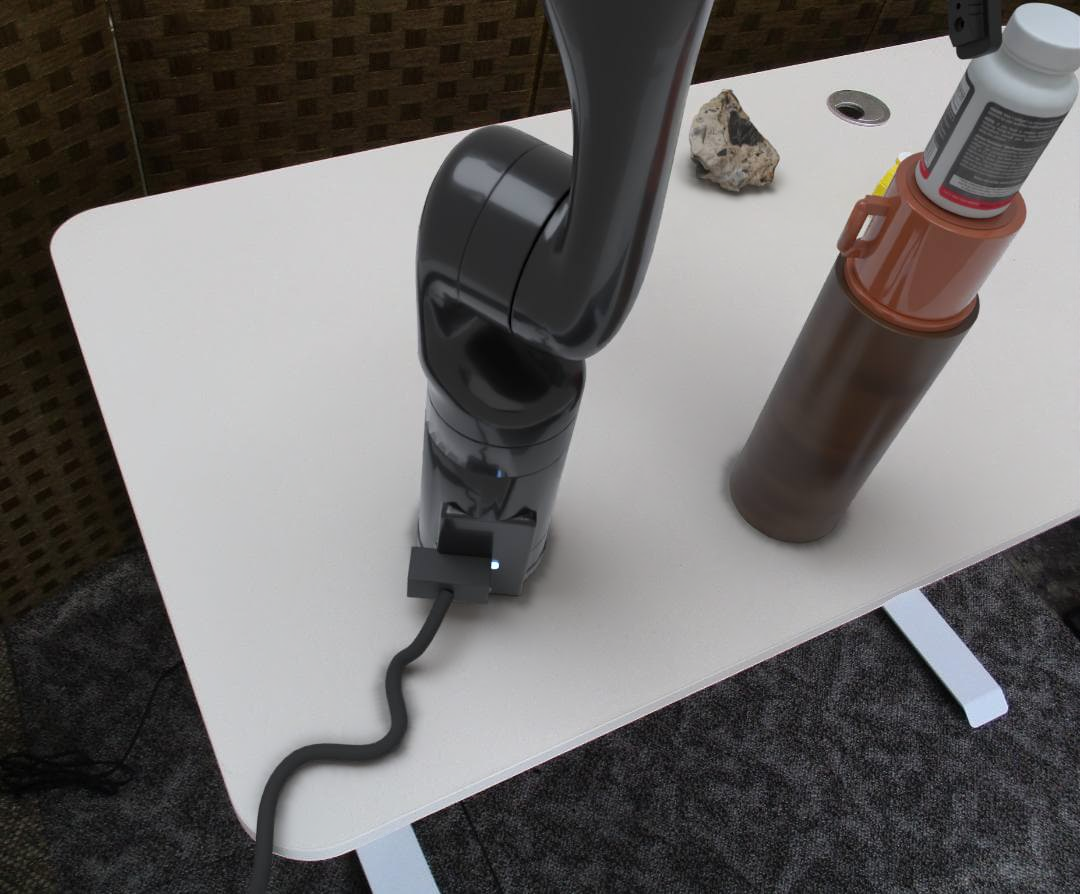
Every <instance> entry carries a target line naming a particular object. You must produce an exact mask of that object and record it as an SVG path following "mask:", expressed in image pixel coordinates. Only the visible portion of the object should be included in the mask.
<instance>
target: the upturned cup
mask: <svg viewBox="0 0 1080 894" xmlns="http://www.w3.org/2000/svg"><path fill="white" fill-rule="evenodd" d="M923 152H924V150H923V151H918V152H916V153H913V154H912V155H910V156H908V157H907V158H905V159H904V160H903V161H902V162H901V163H900V164H899V165H898V167H897V169H896V171H895V173H894V175H893V177H892V179H891V181H890V183H889V185H888V187H887V189H886V191H885V193H884V195H883V197H882V196H874V195H872V194H865V196H864V198H861V199H858V200H857V201H856V202H855V204H854V206H853V208H852V210H851V212H850V214H849V217H848V218H847V220H846V223H845V225H844V227H843V229H842V231H841V233H840V235H839V238H838V239H837V242H836V249H837V250H838V252H839V253H840V252H841V253H842V256H843V257H846V259H845V263H844V276H845V279H846V282H847V284H848V287H849V289H850V290H851V292H852V293H853V295H854V296H855V297H856V298H857V299H858V301H859V302H860V303H861V304H862V305H863V306H865V307H866V308H867V309H868V310H870V311H871V312H872V313H874V314H875V315H877V316H878V317H880V318H882V319H884V320H885V321H887V322H890V323H892V324H894V325H897V326H900V327H902V328H906V329H910V330H915V331H921V332H939V331H945V330H949V329H952V328H954V327H956V326H958V325H960V324H961V323H963V322H964V321H965V320H966V319H967V318H968V316H969V315H970V313H971V312H972V310H973V308H974V306H975V304H976V298H977V293H978V294H979V292H980V291H981V289H982V287H983V286H984V284H985V283H986V281H987V280H988V278H989V277H990V275H991V274H992V272H993V270H994V269H995V268H996V266H997V265H998V263H999V262H1000V260H1001V259H1002V257H1003V256H1004V255H1005V253H1006V251H1007V250H1008V248H1009V247H1010V245H1011V244H1012V242H1013V241H1014V239H1015V238H1016V236H1017V235H1018V233H1019V232H1020V230H1021V229H1022V227H1023V226H1024V225H1025V222H1026V219H1027V205H1026V202H1025V199H1024V197H1023V195H1022V193H1021V192H1020V190H1019V191H1018V193H1017V194H1016V196H1015V197H1014V199H1013V200H1012V202H1011V203H1010V205H1009V206H1008V207H1007V209H1006V210H1004V211H1003V212H1002V213H1000V214H998V215H996V216H993V217H989V218H970V217H965V216H961V215H958V214H956V213H953V212H950V211H948V210H946V209H943V208H942V207H940V206H938V205H937V204H935V203H934V202H933V201H931V200H930V199H929V198H928V197H927V196H926V195H925V194H924V193H923V192H922V191H921V189H920V188H919V186H918V184H917V181H916V177H915V171H916V167H917V164H918V162H919V160H920V158H921V156H922V154H923ZM868 216H871V219H870V220H869V222H868V225H867V227H866V229H865V230H864V233H863V234H862V236H861V237H862V238H861V237H860V238H861V239H860V240H857V239H858V236H859V235H860V232H861V230H862V228H863V226H864V224H865V222H866V221H867V219H868Z"/></svg>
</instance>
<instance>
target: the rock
mask: <svg viewBox="0 0 1080 894" xmlns="http://www.w3.org/2000/svg"><path fill="white" fill-rule="evenodd" d="M740 103H741V102H740V100H739V99H738V97H737V96H736V95H735V93H734V90H733V89H732V88H730V89H727V88H722V89H721V90H720V92H719V94H718V95H717V96H714V97H712V98H711V99H710V101H708V102H706V103H703V105H702V106H701V107H699V111H698V113H697V114H695V115H694V116H693V118H692V120H691V125H690V127H689V133H688V142H689V146H690V147H689V150H690V160H691V161H692V162H693V163H694V165H693V166H694V170H695V176H696V178H698V179H699V178H700V179H704V180H707V179H709V180H711V181H712V182H713V183H719V184H720V185H719V186H720V187H721V188H722V189H725V190H727V191H730V192H740V189H741V188H742V187H744V186H747V185H750V186H756V187H757V186H759V187H763V186H764V185H766V184H768V183H769V184H770V183H772V182H773V180H774V178H775V170H776V168H777V167H778V164H779V162H780V159H781V157H780V155H779V153H778V152H777V149H776V148H775V147H774V145H772V144H771V142H770V141H769V139H767V138H766V137H764V136H763V134H762V133H761V132H760V131H759V130H758V128H757V127H756V126H755V124H754V123H753V122H752V121H751V118H750V116H749V115H748V114H747V113H746V112H745V111H744V110H743V107H742V105H741V104H740Z"/></svg>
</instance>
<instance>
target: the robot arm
mask: <svg viewBox="0 0 1080 894" xmlns="http://www.w3.org/2000/svg"><path fill="white" fill-rule="evenodd" d="M539 1H540V4H541V7H542V9H543V12H544V15H545V18H546V20H547V23H548V26H549V29H550V32H551V35H552V37H553V41H554V44H555V46H556V50H557V53H558V54H557V55H558V58H559V60H560V64H561V67H562V71H563V74H564V78H565V82H566V88H567V93H568V97H569V105H570V113H571V123H572V124H571V125H572V155H571V154H569V153H566V152H565V151H563V150H561V149H559V148H557V147H555V146H553V145H551V144H549V143H548V142H545V141H544V140H542V139H539V138H537V137H535V136H533V135H531V134H529V133H527V132H525V131H523V130H520V129H518V128H517V127H516V128H515V127H512V126H510V125H506V124H505V125H504V124H491V125H486V126H483V127H480V128H478V129H475V130H474V131H472V132H470V133H469V134H467V135H466V136H464V137H463V138H462V139H461V140H460V141H459V142H458V143H457V144H456V145H454V147H453V148H452V149H451V150H450V151H449V153H448V154H447V155H446V157H445V158H444V160H443V161H442V163H441V164H440V166H439V168H438V170H437V171H436V173H435V175H434V177H433V180H432V181H431V184H430V185H429V189H428V192H427V194H426V196H425V200H424V204H423V207H422V212H421V215H420V219H419V224H418V229H417V236H416V247H415V259H414V260H415V261H414V262H415V265H414V266H415V270H414V271H415V272H414V273H415V277H414V278H415V284H414V285H415V303H416V305H415V306H416V326H417V327H416V331H417V332H416V334H417V335H416V336H417V356H418V361H419V365H420V369H421V371H422V373H423V375H424V376H425V378H426V395H425V396H426V397H425V409H424V425H423V426H424V427H423V428H424V429H423V443H422V463H421V477H420V478H421V479H420V480H421V481H420V496H419V497H420V498H419V516H418V520H417V526H416V527H417V528H416V541H417V546H415V545H413V546H411V547H410V557H409V563H408V571H407V572H408V573H407V582H406V598H413V599H414V598H415V599H427V600H434V603H433V604H432V606H431V608H430V611H429V613H428V614H427V617H426V619H425V621H424V623H423V625H422V627H421V629H420V630H419V632H418V633H417V635H416V636H415V638H414V639H413V640H412V642H411V643H410V644H409V645H407V646H406V647H404V648H403V649H402V650H400V651H398V652H397V653H396V654H395V655H394V656H393V657H392V659H391V660H390V662H389V664H388V667H387V670H386V673H385V679H384V681H385V683H384V685H385V694H386V700H387V703H388V707H389V712H390V718H391V725H390V728H389V731H388V732H387V733H386V734H385V735H384V736H383V737H382V738H381V739H379V740H377V741H375V742H372V743H368V744H367V743H366V744H347V743H335V742H334V743H331V742H329V743H328V742H324V743H323V742H321V743H313V744H309V745H308V744H307V745H304V746H302V747H300V748H297V749H295V750H293V751H292V752H291V753H289V754H288V755H287V756H286V757H284V758H283V759H282V761H280V763H278V765H277V766H276V767H275V768H274V770H273V771H272V773H271V774H270V776H269V778H268V780H267V782H266V784H265V786H264V789H263V791H262V794H261V796H260V801H259V805H258V809H257V810H258V811H257V818H256V829H255V843H254V844H255V845H254V857H253V866H252V872H251V876H250V882H249V885H248V890H247V894H267V890H268V886H269V881H270V875H271V870H272V862H273V853H274V835H275V834H274V832H275V821H276V819H275V818H276V811H277V806H278V805H277V804H278V800H279V797H280V795H281V792H282V789H283V787H284V785H285V784H286V783H287V781H288V779H290V777H291V776H292V775H293V774H294V773H295V772H296V770H298V769H299V768H301V767H302V766H304V765H307V764H308V763H312V762H317V761H336V762H354V763H355V762H357V763H358V762H362V763H363V762H370V761H375V760H379V759H381V758H383V757H385V756H387V755H388V754H390V753H391V752H393V751H394V750H395V749H396V748H397V747H398V746H399V745H400V743H401V741H402V740H403V739H404V736H405V735H406V731H407V728H408V712H407V707H406V703H405V699H404V695H403V691H402V676H403V672H404V670H405V669H406V667H407V666H408V665H409V664H411V663H412V662H415V661H416V660H417V659H419V658H420V657H421V656H422V655H423V654H424V653H425V652H426V650H427V649H428V648H429V646H430V645H431V643H432V642H433V640H434V638H435V637H436V635H437V633H438V630H439V629H440V628H441V625H442V623H443V621H444V619H445V617H446V614H447V612H448V610H449V608H450V606H451V604H452V602H460V603H470V604H480V605H487V604H488V600H489V597H490V596H489V595H490V594H496V595H507V596H521V595H522V591H523V589H524V588H523V587H524V582H525V580H527V579H528V578H529V577H531V575H532V574H533V573H534V572H536V570H537V568H538V567H539V565H540V563H541V562H542V559H543V557H544V554H545V550H546V547H547V539H548V532H549V528H550V525H551V520H552V516H553V512H554V508H555V506H556V505H555V504H556V500H557V496H558V493H559V488H560V484H561V481H562V476H563V473H564V469H565V466H566V462H567V458H568V454H569V450H570V449H569V448H570V445H571V442H572V439H573V434H574V431H575V426H576V424H577V418H578V415H579V412H580V407H581V405H582V399H583V395H584V392H585V388H586V382H587V363H586V360H587V359H588V358H591V357H593V356H595V355H597V354H598V353H600V352H601V351H602V350H603V349H605V348H606V347H607V346H608V345H609V344H610V343H611V342H612V340H613V339H614V338H615V337H616V336H617V334H618V333H619V331H621V329H622V327H623V325H624V324H625V322H626V321H627V319H628V318H629V315H630V313H631V311H632V310H633V307H634V305H635V303H636V301H637V299H638V296H639V294H640V291H641V289H642V287H643V285H644V282H645V279H646V277H647V272H648V270H649V266H650V264H651V260H652V256H653V254H654V250H655V246H656V241H657V237H658V233H659V230H660V224H661V221H662V216H663V211H664V207H665V202H666V197H667V193H668V188H669V185H670V184H669V183H670V179H671V174H672V170H673V164H674V160H675V155H676V152H677V146H678V141H679V137H680V133H681V132H680V131H681V128H682V122H683V118H684V113H685V109H686V104H687V99H688V95H689V90H690V87H691V84H692V80H693V79H692V78H693V75H694V72H695V69H696V68H695V67H696V64H697V60H698V57H699V53H700V50H701V46H702V44H703V43H702V41H703V39H704V36H705V32H706V29H707V26H708V22H709V19H710V16H711V13H712V10H713V6H714V4H715V0H539ZM946 3H947V21H948V25H947V26H948V38H949V41H950V44H951V45H952V48H955V53H956V57H957V58H958V59H959V60H963V61H964V60H972V59H975V58H979V57H982V56H985V55H988V54H991V53H994V52H996V51H998V50H999V48H1000V47H1001V44H1002V33H1003V25H1002V24H1003V22H1002V1H1001V0H946Z"/></svg>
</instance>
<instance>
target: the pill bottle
mask: <svg viewBox="0 0 1080 894" xmlns="http://www.w3.org/2000/svg"><path fill="white" fill-rule="evenodd" d="M1079 69H1080V15H1079V14H1076V13H1075V12H1072V11H1070V10H1068V9H1066V8H1063V7H1060V6H1058V5H1055V4H1050V3H1043V2H1042V3H1041V2H1028V3H1024V4H1021V5H1020V6H1018V7H1016V9H1014V11H1013V13H1012V15H1011V16H1010V18H1009V19H1008V21H1007V22H1006V25H1005V27H1004V28H1003V30H1002V44H1001V47H1000V48H999V50H998V51H996V52H994V53H991V54H988V55H985V56H982V57H979V58H975V59H970V61H969V64H968V65H967V67H966V70H965V71H964V73H963V75H962V77H961V79H960V81H959V83H958V85H957V86H956V89H955V91H954V93H953V94H952V96H951V98H950V101H949V102H948V105H947V106H946V108H945V109H944V112H943V114H942V116H941V117H940V118H939V119H940V120H939V121H938V123H937V125H936V128H935V129H934V131H933V133H932V134H931V137H930V138H929V141H928V143H927V144H926V146H925V148H924V150H923V151H924V152H923V151H922V152H923V154H922V156H921V158H920V160H919V162H918V164H917V167H916V171H915V177H916V181H917V184H918V186H919V188H920V189H921V191H922V192H923V193H924V194H925V195H926V196H927V197H928V198H929V199H930V200H931V201H933V202H934V203H935V204H937V205H938V206H940V207H942V208H943V209H946V210H948V211H950V212H953V213H956V214H958V215H961V216H965V217H970V218H989V217H993V216H996V215H998V214H1000V213H1002V212H1003V211H1004V210H1006V209H1007V207H1008V206H1009V205H1010V203H1011V202H1012V200H1013V199H1014V197H1015V196H1016V194H1017V193H1018V191H1019V192H1020V190H1021V189H1022V187H1023V185H1024V183H1025V182H1026V180H1027V179H1028V177H1029V176H1030V174H1031V172H1032V171H1033V169H1034V167H1036V164H1037V162H1038V161H1039V159H1040V158H1041V157H1042V155H1043V153H1044V152H1045V150H1046V149H1047V147H1048V146H1049V144H1050V143H1051V141H1052V140H1053V138H1054V136H1055V134H1056V133H1057V132H1058V130H1059V128H1060V127H1061V126H1062V124H1063V122H1064V120H1065V119H1066V117H1068V115H1069V113H1070V111H1071V110H1072V108H1073V106H1074V104H1075V102H1076V100H1077V98H1078V95H1079V92H1080V90H1079V89H1080V86H1079V80H1078V78H1077V75H1076V74H1075V72H1076V71H1078V70H1079Z"/></svg>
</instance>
